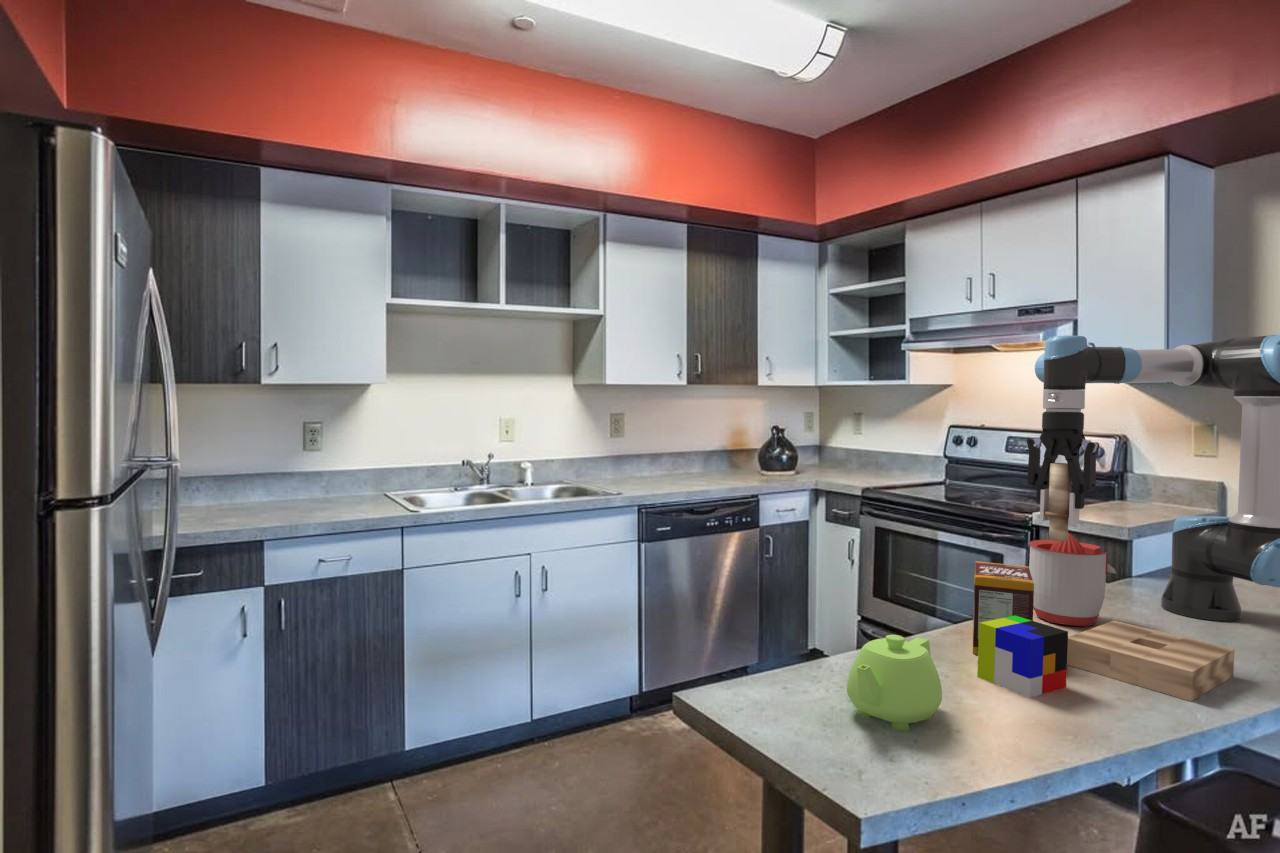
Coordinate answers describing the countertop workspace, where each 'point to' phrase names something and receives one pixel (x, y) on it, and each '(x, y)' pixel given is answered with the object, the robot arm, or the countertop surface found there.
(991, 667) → the puzzle toy
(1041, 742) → the countertop surface
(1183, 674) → the seat board
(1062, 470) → the leg peg
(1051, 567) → the citrus juicer
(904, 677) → the teapot
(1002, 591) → the supplement box
